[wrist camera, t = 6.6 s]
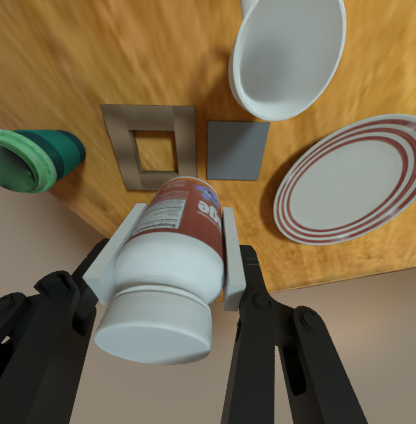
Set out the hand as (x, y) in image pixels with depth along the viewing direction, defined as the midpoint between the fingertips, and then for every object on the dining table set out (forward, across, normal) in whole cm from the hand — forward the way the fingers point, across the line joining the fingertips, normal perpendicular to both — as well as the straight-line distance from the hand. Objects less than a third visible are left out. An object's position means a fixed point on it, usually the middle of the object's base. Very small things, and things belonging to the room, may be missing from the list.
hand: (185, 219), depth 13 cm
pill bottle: (+3, 0, 0) cm, 3 cm away
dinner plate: (+20, +28, -6) cm, 35 cm away
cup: (+20, -23, 0) cm, 30 cm away
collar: (+19, -8, 0) cm, 21 cm away
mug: (+20, +7, +13) cm, 24 cm away
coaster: (+19, +6, +1) cm, 20 cm away
